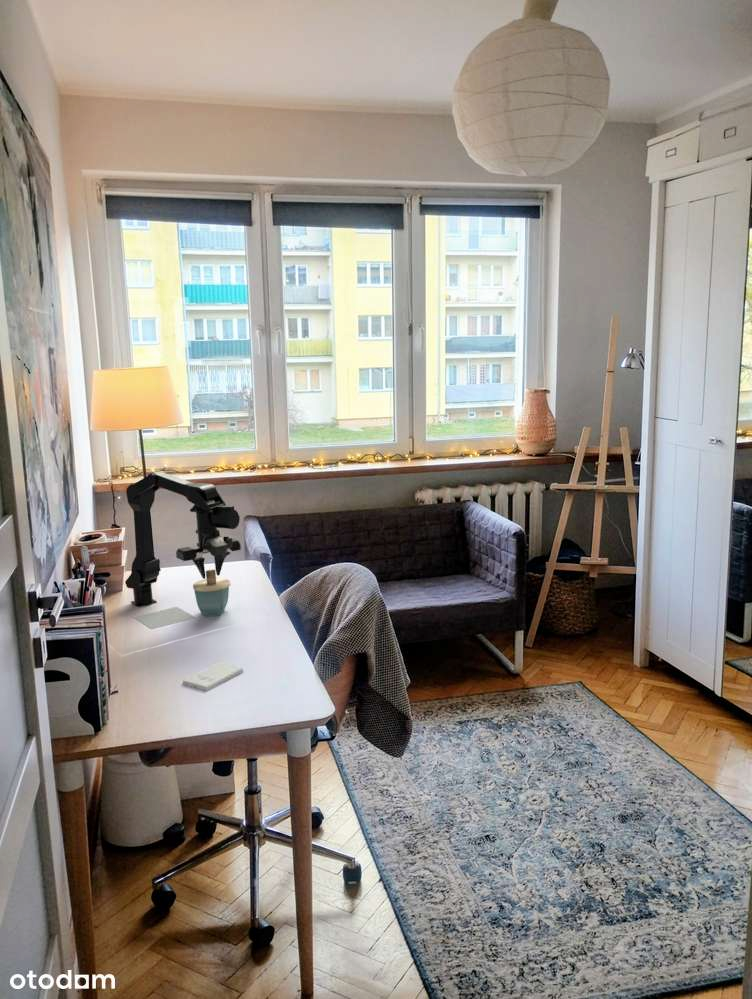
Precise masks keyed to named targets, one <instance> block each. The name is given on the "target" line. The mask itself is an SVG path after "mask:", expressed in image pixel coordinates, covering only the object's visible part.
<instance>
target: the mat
mask: <svg viewBox="0 0 752 999" xmlns="http://www.w3.org/2000/svg"><path fill="white" fill-rule="evenodd" d="M133 618H134V619H135V620H136V621H138V622H139V623H140V624H142V625H144V626H146V627H147V628H149V629H150V630H153V629H154V630H155V629H157V628H161V627H166V626H170V625H173V624H176V623H180V622H184V621H189V620H192V619H195V618H197V617H196V616H194V615H192V614H190V612H189V613H188V612H187V611H185V610H184V609H182V608H180V607H178V606H175V607H170V608H164V609H162V610H157V611H153V612H150V613H145V614H141V615H137V616H133Z"/></svg>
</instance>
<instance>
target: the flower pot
mask: <svg viewBox="0 0 752 999" xmlns="http://www.w3.org/2000/svg"><path fill="white" fill-rule="evenodd" d="M229 592H230V586H229V587H227V588H225V589H222V590H218V591H210V592H202V591H196V590H194V596H195V600H196V604H197V607H198V610H199V611H200V613H201V614H202V615H203V616H204V617H211V616H212V617H213V616H214V617H215V616H218V617H219V616H222V615H223V613H224V611H225V609H226V607H227V605H228V602H229Z"/></svg>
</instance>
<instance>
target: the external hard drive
mask: <svg viewBox="0 0 752 999" xmlns="http://www.w3.org/2000/svg"><path fill="white" fill-rule="evenodd" d="M240 672H242V673H244V669H243V667H240V666H238V665H237V666H236V665H233V664H230V663H225V662H222V661H219V662H217V663H215V664H213V665H211V666H209V667H207V668H204V669H202V670H201V671H199V672H197V673H195V674H194V675H191V676H189V677H187V678H185V679H183V680H182V684H183V685H185V684H187V685H186V686H188V685H190V686H189V687H192V686H195V687H194V688H196V689H199V688H200V690H202V689H203V691H206V692H207V691H210V690H211V689H213V688H215V687H217V686H218V684H219V685H221V684H223V683H225V682H227V681H228V680H230V679H232V678H234V677H236V676H238V675H240V674H241V673H240ZM239 673H240V674H239ZM237 674H238V675H237ZM235 675H236V676H235ZM233 676H234V677H233ZM231 677H232V678H231ZM229 678H230V679H229ZM226 680H227V681H226ZM224 681H225V682H224ZM222 682H223V683H222ZM220 683H221V684H220ZM216 685H217V686H216ZM214 686H215V687H214ZM212 687H213V688H212Z"/></svg>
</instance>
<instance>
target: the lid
mask: <svg viewBox="0 0 752 999" xmlns="http://www.w3.org/2000/svg"><path fill="white" fill-rule="evenodd" d="M230 586H231V581H230V580H229V579H227V578H220V577H218V578H217V574H216V569H207V570H205V579H202V580H199V581H196V582H194V583H193V584H192V588H193V590H194V591H195V590H196V591H202V592H210V591H218V590H222V589H225V588H227V587H229V588H230Z"/></svg>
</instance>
